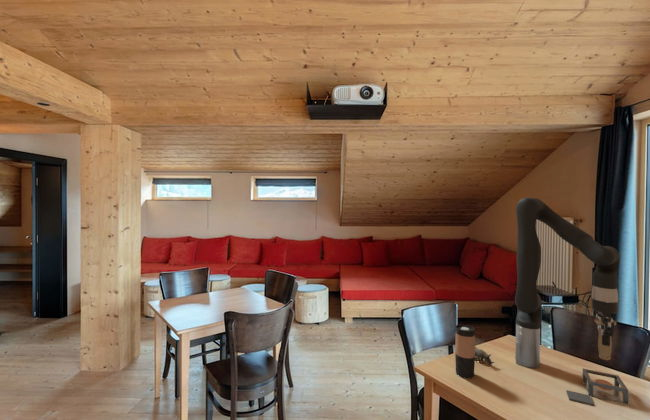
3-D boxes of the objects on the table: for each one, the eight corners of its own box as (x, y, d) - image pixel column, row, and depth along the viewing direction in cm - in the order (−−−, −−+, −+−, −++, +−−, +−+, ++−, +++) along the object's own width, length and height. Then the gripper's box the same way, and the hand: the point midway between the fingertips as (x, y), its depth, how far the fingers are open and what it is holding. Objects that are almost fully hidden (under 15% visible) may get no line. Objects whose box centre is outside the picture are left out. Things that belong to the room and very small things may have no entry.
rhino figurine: (490, 369, 137) (490, 356, 137) (464, 356, 150) (464, 343, 149) (496, 367, 139) (496, 354, 139) (470, 354, 151) (470, 342, 151)
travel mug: (466, 380, 128) (466, 332, 128) (451, 372, 135) (451, 326, 135) (478, 376, 132) (479, 329, 132) (463, 367, 139) (463, 323, 138)
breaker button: (597, 388, 119) (597, 384, 119) (593, 381, 124) (593, 378, 124) (614, 391, 117) (614, 388, 117) (610, 385, 121) (610, 381, 121)
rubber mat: (569, 400, 116) (569, 398, 116) (566, 391, 121) (566, 390, 121) (593, 405, 112) (593, 404, 112) (589, 396, 117) (589, 395, 117)
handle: (619, 362, 117) (619, 323, 117) (600, 361, 118) (600, 322, 118) (609, 356, 122) (609, 318, 122) (591, 355, 123) (591, 317, 123)
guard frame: (589, 395, 118) (589, 381, 118) (582, 381, 128) (582, 368, 128) (628, 404, 113) (628, 390, 113) (618, 388, 123) (618, 375, 122)
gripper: (587, 292, 128) (587, 334, 128) (596, 302, 116) (596, 348, 116) (611, 295, 124) (611, 338, 125) (624, 305, 112) (623, 352, 112)
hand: (604, 342), depth 120 cm, fingers closed on handle, 4 cm apart
